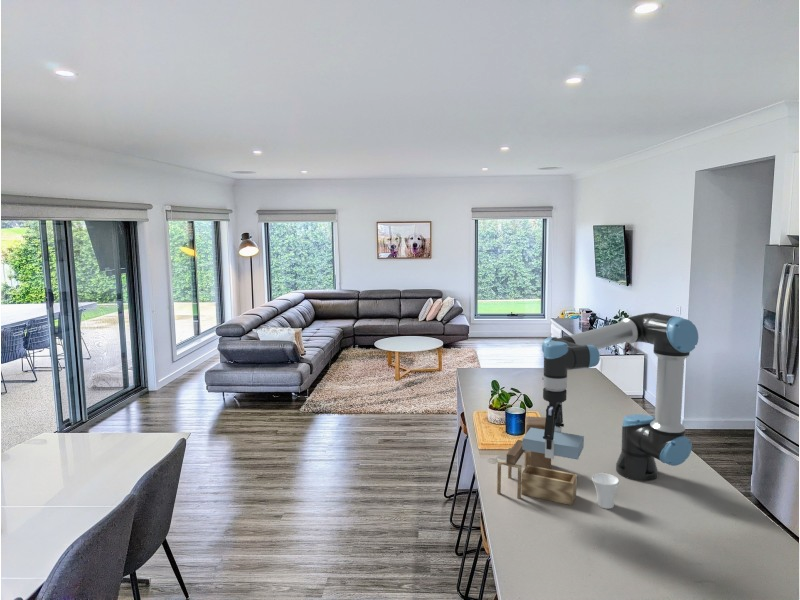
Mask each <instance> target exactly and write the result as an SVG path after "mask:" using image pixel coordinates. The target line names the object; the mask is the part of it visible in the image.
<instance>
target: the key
mask: <svg viewBox="0 0 800 600" xmlns="http://www.w3.org/2000/svg"><path fill="white" fill-rule="evenodd" d="M522 443H523V439H517V440H516V442H515V443H514V444H513V445H512V448H511V449H510V451H509V450H508V452H507V453H506V462H507V464H512V465H515V464H517V462H519V460H520V458H521V456H522V455H523V454H525V453H524V451H525V450H522Z"/></svg>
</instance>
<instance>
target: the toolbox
mask: <svg viewBox="0 0 800 600" xmlns="http://www.w3.org/2000/svg"><path fill="white" fill-rule="evenodd" d="M512 447H513V446H512ZM512 447H510V446H509V447H508V452H509V451H510V449H511V448H512ZM525 453H528V465H527V466H526V468H525V467H524V469H523V471H522V465H521V464H518V463H516V464H515V465H512V464H507V461H501V460H498V461H497V475H496V477H497V480H496V483H497V484H496V492H497V494H498V495H500V494H501V491H502V490H501V489H502V466H508V468H507V469H508V470H507V473H508V474H507V476H508V477H507V478H508V479H512V469H513V468H517V493H516V494H517V497H516V498H517V499H522V495H523V496H528V497H532V498H537V499H542V500H547V501H552V502H555V503H560V504H565V505H569V506H573V505H574V502H575V499H576V496H577V481H578V480H577V474H576V473H570V472H567V471H562V470H556V469H552V468H551V469H546V468H541V467H536V466H531V451H527V450H525V451H524V453H523V454H525ZM512 467H513V468H512Z"/></svg>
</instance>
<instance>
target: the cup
mask: <svg viewBox="0 0 800 600" xmlns="http://www.w3.org/2000/svg"><path fill="white" fill-rule="evenodd" d="M591 481H592V482H593V484H594V487H595V491H596V504H597V506H598V507H600V508H602V509H607V510H608V509H613V508H614V507H615V495H616V494H615V493H616V490H617V487H618V485H619V483H620V480H619V478H618V477H617V476H616V475H612V474H610V473H606V472H600V473H599V472H598V473H594V474H593V475H592V476H591Z"/></svg>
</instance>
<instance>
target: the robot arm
mask: <svg viewBox="0 0 800 600" xmlns="http://www.w3.org/2000/svg"><path fill="white" fill-rule="evenodd" d="M698 332H699V331H698V329H697V327H696V325H695V324H694V323H693V322H692V321H691V320H689V319H687V318H683V317H680V316H676V315H669V314H663V313H658V312H647V313H643V314H637V315H633V316H630V317H625V318H622V319H621V320H620V321H619V322H617V323H613V324H608V325H605V326H600V327H597V328H594V329H590V330H587V331H581V332H578V333H574V334H570V335H567V336H563V337H556V336H547V338H545V339H544V340H543V342H542V344H541V350H542V353H543V376H542V377H541V380H542V381H543V382H542V383H543V387H544V388H542V398H543V400H544V401H546V402H548V404H547V406H546V409H545V411H546V412H545V418H546V421H545V432H544V436H543V439H545V457H546V458H551V460H553V459H555V458H554V457H555V455H554V438H553V437H554V431H556V432H562V428H564V426H565V423H564V420H563V419H564V418H563V403H564V402H566V401H567V394H568V393H567V388H568V371H570V370H571V371H572V370H579V369H581V370H582V369H590V368H594V367H596V366H598V364H599V363H600V361H601V360H600V359H601V357H600V356H601V355H600V354H601V353H600V351H599V350H601V349H605V348H609V347H611V346H616V345H619V344H624V343H627V344H635V343H645V344H651V345H652V346H653V354H654V355H655V356H656V357H657V368H656V369H657V370H656V384H655V385H656V387H655V388H656V389H655V407H654V408H655V409H654V416H652V415H650V414H649V415H648V414H629V415H625V416H624V417H623V420H622V425H621V426H622V427H621V452H620V454H619V457H618V459H617V461H616V463H615V471H616V472H617V473H618V474H619V475H620V476H621V477H624V478H626V479H628V480H629V479H630V480H633V481H640V482H649V481H653V480H656V479H657V478H658V473H659V472H658V470H659V469H658V467H657V463H656V460H655V459H657V460H659V461H660V462H661V463H664V464H666V465H668V466H672V467H674V466H676V467H677V466H680V465H681V464H683V463H684V462H686V460H687V459H689V457H690V455H691V453H692V451H693V450H692V449H693V448H692V447H693V445H692V441H691V440H690V438H688V437H687V436H686V427H685V426H684V425H683V424H682V409H683V408H682V407H683V406H682V405H683V388H684V372H685V369H684V368H685V360H686V359H687V358H688V357H689V356H690V355H691V354H690V352H693V350H694V349H696V346H697V345H698V343H699V333H698ZM548 435H549V436H548Z"/></svg>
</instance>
